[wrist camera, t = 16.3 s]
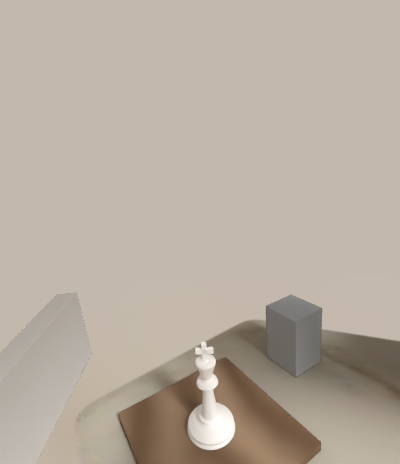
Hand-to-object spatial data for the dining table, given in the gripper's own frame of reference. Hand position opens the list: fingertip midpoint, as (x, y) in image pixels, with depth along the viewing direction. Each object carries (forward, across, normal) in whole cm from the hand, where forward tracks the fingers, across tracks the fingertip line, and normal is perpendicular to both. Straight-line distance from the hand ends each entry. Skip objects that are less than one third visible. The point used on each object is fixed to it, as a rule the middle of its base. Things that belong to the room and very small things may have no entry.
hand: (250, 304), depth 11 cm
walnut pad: (+13, -3, -22) cm, 26 cm away
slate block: (+23, +9, -23) cm, 34 cm away
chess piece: (+13, -3, -22) cm, 25 cm away
